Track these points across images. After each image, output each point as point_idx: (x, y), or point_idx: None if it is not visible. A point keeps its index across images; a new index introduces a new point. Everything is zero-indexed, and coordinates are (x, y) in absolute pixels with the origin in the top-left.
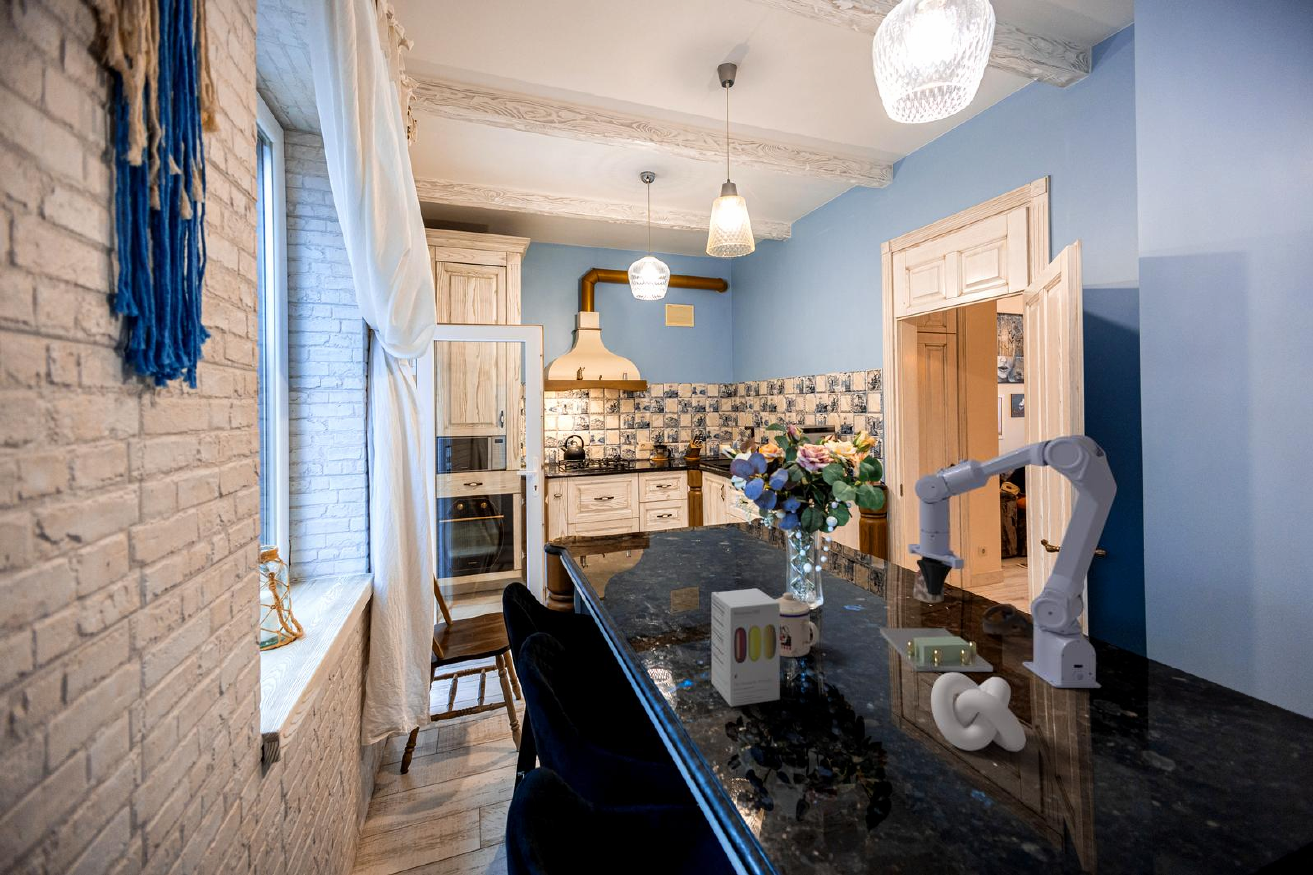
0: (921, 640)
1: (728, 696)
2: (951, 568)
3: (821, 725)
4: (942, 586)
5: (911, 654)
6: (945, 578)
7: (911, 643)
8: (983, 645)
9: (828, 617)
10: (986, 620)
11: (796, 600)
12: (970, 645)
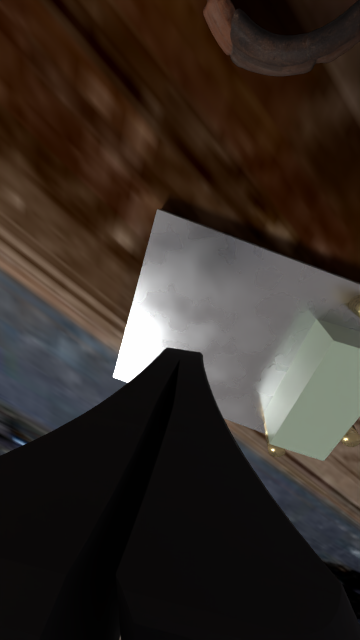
0: (294, 443)
1: None
2: (319, 564)
3: (357, 602)
4: (206, 381)
5: None
6: (226, 429)
7: (282, 455)
8: (295, 161)
9: (13, 400)
10: (270, 44)
11: None
12: None
